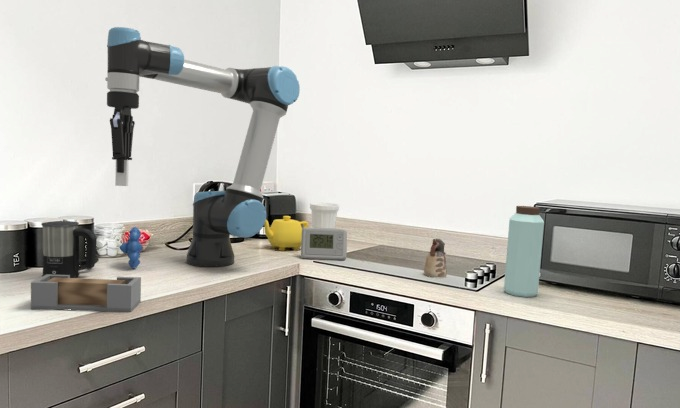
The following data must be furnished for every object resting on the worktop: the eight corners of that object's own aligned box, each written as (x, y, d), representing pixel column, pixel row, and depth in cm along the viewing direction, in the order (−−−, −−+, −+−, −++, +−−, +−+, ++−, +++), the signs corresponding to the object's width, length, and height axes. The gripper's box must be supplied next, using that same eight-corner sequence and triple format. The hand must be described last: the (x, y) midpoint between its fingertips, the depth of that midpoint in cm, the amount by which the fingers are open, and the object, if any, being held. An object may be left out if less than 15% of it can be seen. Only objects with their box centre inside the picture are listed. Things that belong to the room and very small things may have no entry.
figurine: (450, 276, 181) (453, 239, 180) (437, 279, 176) (440, 240, 175) (432, 272, 186) (435, 236, 185) (419, 274, 181) (421, 237, 180)
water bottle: (497, 288, 168) (504, 204, 165) (529, 289, 168) (537, 206, 166) (510, 297, 158) (517, 208, 155) (544, 298, 158) (552, 209, 156)
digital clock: (298, 259, 196) (299, 228, 195) (303, 254, 205) (304, 225, 204) (345, 262, 194) (346, 232, 193) (347, 257, 203) (349, 228, 202)
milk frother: (39, 281, 149) (39, 225, 147) (45, 268, 163) (45, 217, 162) (98, 279, 154) (98, 225, 153) (98, 267, 168) (99, 217, 167)
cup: (326, 243, 230) (328, 206, 229) (302, 239, 237) (303, 203, 236) (343, 240, 241) (345, 204, 239) (319, 236, 247) (321, 202, 246)
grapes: (119, 263, 175) (120, 224, 174) (143, 263, 177) (143, 224, 176) (117, 271, 164) (118, 230, 163) (142, 271, 166) (143, 230, 165)
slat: (124, 301, 132) (125, 280, 131) (119, 305, 128) (119, 284, 127) (54, 298, 131) (54, 277, 130) (46, 303, 127) (46, 281, 126)
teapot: (252, 246, 215) (253, 214, 214) (299, 244, 226) (300, 213, 224) (266, 253, 204) (267, 218, 203) (315, 250, 214) (316, 218, 213)
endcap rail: (140, 302, 134) (140, 277, 134) (130, 311, 126) (131, 285, 126) (46, 299, 132) (46, 274, 132) (30, 309, 124) (30, 282, 124)
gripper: (115, 93, 148) (114, 183, 150) (98, 88, 135) (97, 186, 138) (145, 95, 149) (143, 184, 151) (131, 90, 136) (129, 188, 138)
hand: (121, 185), depth 144 cm, fingers closed
